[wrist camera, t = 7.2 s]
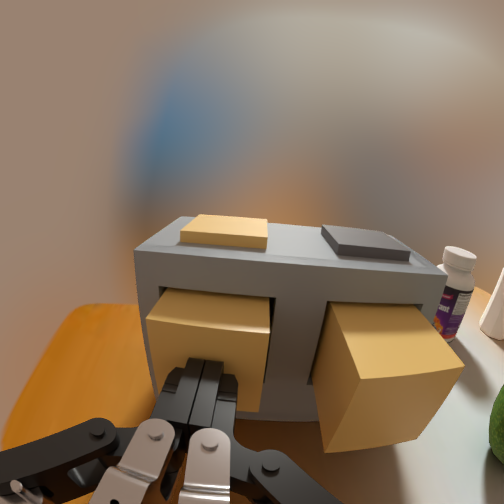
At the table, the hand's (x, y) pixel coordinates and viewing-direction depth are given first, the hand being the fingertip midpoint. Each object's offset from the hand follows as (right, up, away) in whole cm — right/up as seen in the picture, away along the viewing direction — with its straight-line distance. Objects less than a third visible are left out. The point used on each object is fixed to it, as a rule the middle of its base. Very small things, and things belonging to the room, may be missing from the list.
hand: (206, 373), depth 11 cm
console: (+4, -4, +8) cm, 10 cm away
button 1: (0, -1, +5) cm, 5 cm away
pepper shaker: (+34, -5, +13) cm, 37 cm away
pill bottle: (+23, -4, +14) cm, 27 cm away
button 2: (+8, -3, +2) cm, 9 cm away
